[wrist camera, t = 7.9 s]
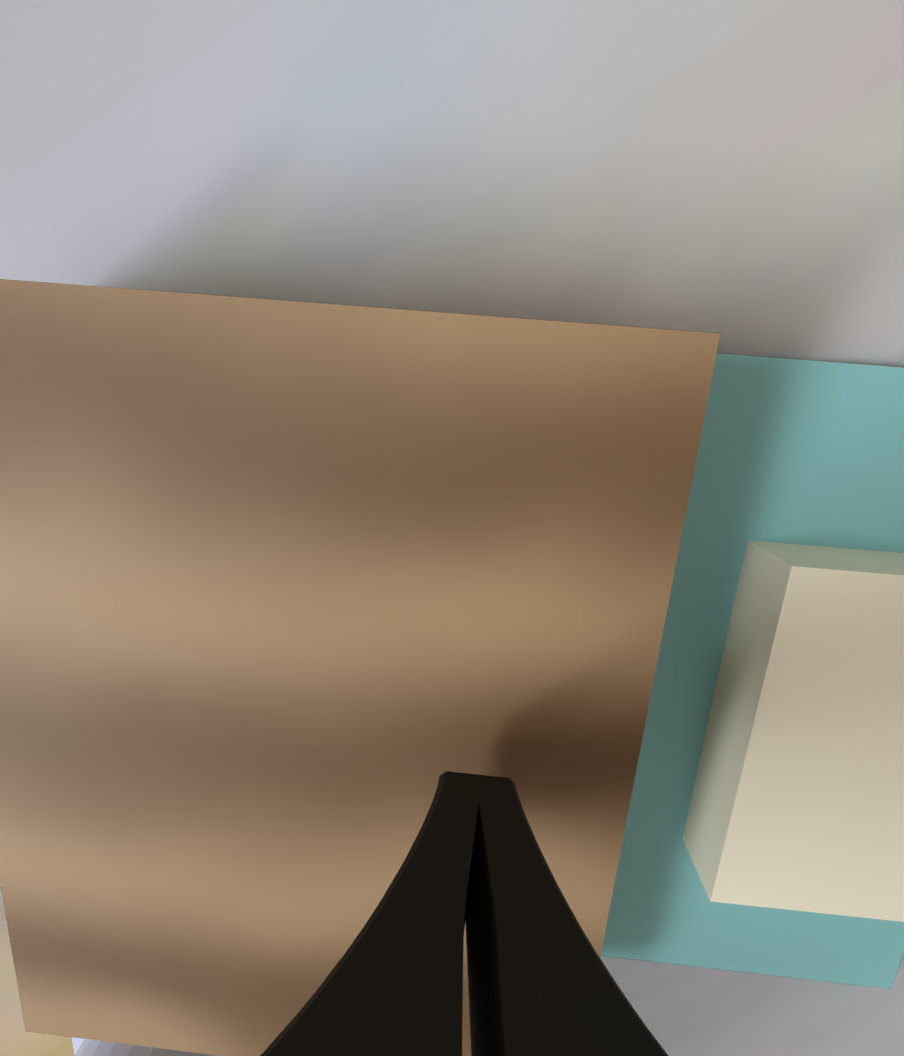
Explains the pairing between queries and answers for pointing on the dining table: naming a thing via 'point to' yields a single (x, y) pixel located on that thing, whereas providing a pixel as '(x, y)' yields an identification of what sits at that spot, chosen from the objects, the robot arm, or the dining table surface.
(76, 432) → the wooden block
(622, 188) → the dining table surface
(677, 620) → the mat
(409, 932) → the robot arm
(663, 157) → the dining table surface
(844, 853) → the cream bevelled block
